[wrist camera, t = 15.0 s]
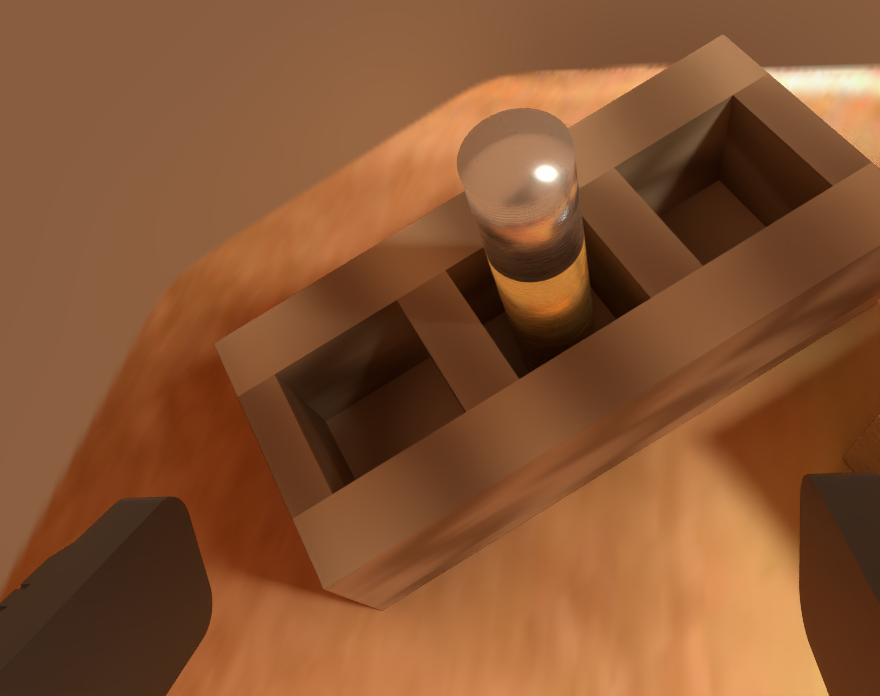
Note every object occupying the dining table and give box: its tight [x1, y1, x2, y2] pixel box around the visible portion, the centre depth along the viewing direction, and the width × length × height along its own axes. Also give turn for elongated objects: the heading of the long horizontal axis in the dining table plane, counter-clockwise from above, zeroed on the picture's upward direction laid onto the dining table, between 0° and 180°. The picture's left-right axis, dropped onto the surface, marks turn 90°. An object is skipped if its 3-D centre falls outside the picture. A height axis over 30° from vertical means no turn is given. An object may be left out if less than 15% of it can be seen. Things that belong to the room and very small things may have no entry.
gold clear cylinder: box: [457, 108, 596, 372], centre depth 25 cm, size 3×3×12 cm
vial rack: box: [214, 35, 880, 611], centre depth 28 cm, size 22×10×6 cm, turn 119°
